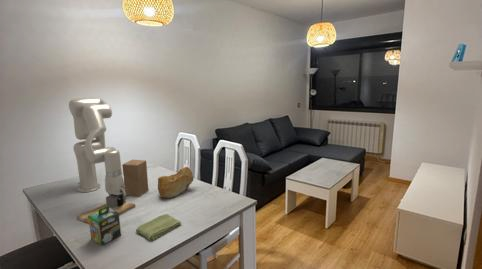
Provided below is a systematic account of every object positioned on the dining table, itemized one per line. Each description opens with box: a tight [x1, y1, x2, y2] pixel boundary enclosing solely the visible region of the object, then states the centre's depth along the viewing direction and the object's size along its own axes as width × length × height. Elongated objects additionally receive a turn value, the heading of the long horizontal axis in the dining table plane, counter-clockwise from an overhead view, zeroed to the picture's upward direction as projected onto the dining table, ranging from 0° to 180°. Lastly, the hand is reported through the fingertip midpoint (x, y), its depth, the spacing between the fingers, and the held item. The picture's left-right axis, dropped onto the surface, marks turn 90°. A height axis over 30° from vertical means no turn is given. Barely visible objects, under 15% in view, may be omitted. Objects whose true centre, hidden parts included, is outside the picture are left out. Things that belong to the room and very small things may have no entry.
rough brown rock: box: [157, 166, 194, 199], centre depth 157 cm, size 23×17×15 cm
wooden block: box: [121, 159, 149, 197], centre depth 155 cm, size 10×10×20 cm
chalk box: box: [88, 206, 122, 246], centre depth 110 cm, size 9×9×15 cm
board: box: [76, 201, 136, 224], centre depth 133 cm, size 16×22×2 cm
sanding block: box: [105, 194, 127, 209], centre depth 137 cm, size 5×8×6 cm, turn 154°
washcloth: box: [135, 213, 182, 241], centre depth 118 cm, size 13×18×3 cm
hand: (117, 203), depth 137 cm, fingers closed on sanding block, 5 cm apart
